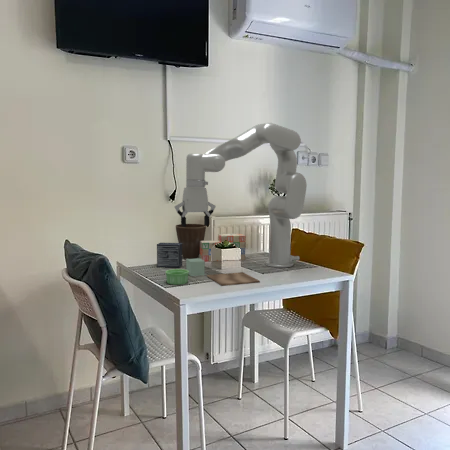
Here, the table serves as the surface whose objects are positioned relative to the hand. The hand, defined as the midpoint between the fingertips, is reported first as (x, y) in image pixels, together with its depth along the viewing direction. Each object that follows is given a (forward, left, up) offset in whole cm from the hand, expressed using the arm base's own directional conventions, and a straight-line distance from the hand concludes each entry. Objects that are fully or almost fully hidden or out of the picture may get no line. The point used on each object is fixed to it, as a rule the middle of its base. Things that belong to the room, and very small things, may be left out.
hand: (195, 226), depth 187 cm
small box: (+6, -18, -20) cm, 28 cm away
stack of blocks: (-22, -24, -20) cm, 39 cm away
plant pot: (-9, -34, -20) cm, 41 cm away
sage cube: (0, 0, -20) cm, 20 cm away
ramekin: (+11, +11, -20) cm, 26 cm away
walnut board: (-11, +14, -20) cm, 27 cm away
